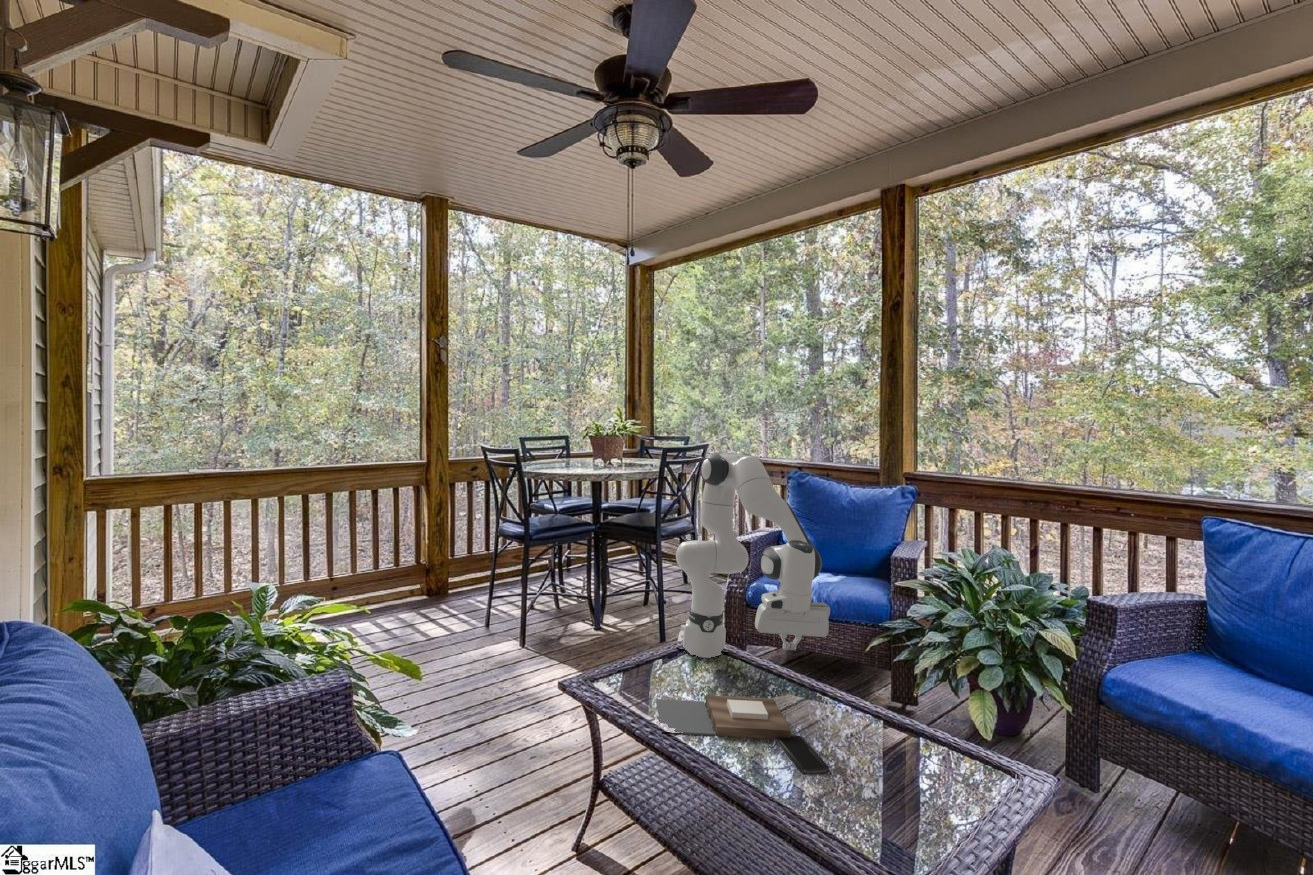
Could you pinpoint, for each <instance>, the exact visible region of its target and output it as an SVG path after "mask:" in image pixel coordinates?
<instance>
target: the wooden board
mask: <svg viewBox="0 0 1313 875" xmlns="http://www.w3.org/2000/svg"><path fill="white" fill-rule="evenodd" d="M705 696H706V697H705V706H706V709H707V712H708V716H709V719H710V722H711V725H712V728H713V732H714V736H717V737H732V738H733V737H735V738H751V739H753V738H754V739H769V740H770V739H772V740H776V738H777V737H790V736H791V734H792V733H791V732H792V730H791V728H790V726H789V724H788V723H787V721H786V719H785V717H784V714H783V713H782V712H781V710H780V708H779V706H778V704H777V702H776V700H775V699H774V698H768V697H767V698H764V697H749V696H748V697H747V696H731V695H715V694H712V695H710V694H706V695H705ZM727 699H728V700H746V701H762V703H763V705H764V707H765V709H766V711H767V713H768V720H767V719H748V718H732V717H731V714H730V712H729V709H728V707H727Z"/></svg>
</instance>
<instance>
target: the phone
mask: <svg viewBox="0 0 1313 875" xmlns="http://www.w3.org/2000/svg"><path fill="white" fill-rule="evenodd" d="M775 741H776V744H777V745H778V746H779V747H780V748H781V750H782V751H783V752H784V754H785V755H786V756H787V757H788V759H790V761H791V762H792V763H793V765H794V766H795V767H796V768H797V770H798V771H799V772H800V773H801V774H803V775H814V774H815V775H817V774H828V773H829V772H830V767H829V765H828V764H827V763H826V761H824V760H823V759H822V757H821V756H820V755H819V754H818V753H817V752H816V750H815V749H814V748H813V747H812V746H811V745H810V744H809V742H807V740H806V739H805V738H804V737H803V736H801V735H790V737H777V738H776V739H775Z"/></svg>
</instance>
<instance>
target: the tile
mask: <svg viewBox="0 0 1313 875" xmlns="http://www.w3.org/2000/svg"><path fill="white" fill-rule="evenodd" d="M727 707H728V709H729V712H730V714H731V717H732V718H748V719H767V720H768V713H767V711H766V709H765V707H764V705H763V703H762V701H746V700H728V699H727Z"/></svg>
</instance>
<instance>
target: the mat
mask: <svg viewBox="0 0 1313 875" xmlns="http://www.w3.org/2000/svg"><path fill="white" fill-rule="evenodd" d="M655 701H656V707H657V708H658V709H657V715H658V714H659V715H658V719H661V720H660V721H661V722H659V724H660V723H666V724H668V727H669V728H676V729H675V730H674V731H675V732H683V733H687V734H686V735H693V736H694V735H695V736H696V735H697V736H713V737H714V736H715V731H714V728H713V725H712V722H711V719H710V715H709V712H708V709H707V706H706V702H705V701H703V700H702V701H701V700H683V699H668V698H667V699H665V698H656V700H655Z"/></svg>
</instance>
